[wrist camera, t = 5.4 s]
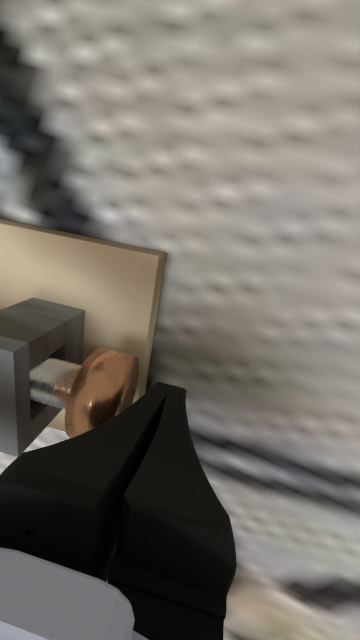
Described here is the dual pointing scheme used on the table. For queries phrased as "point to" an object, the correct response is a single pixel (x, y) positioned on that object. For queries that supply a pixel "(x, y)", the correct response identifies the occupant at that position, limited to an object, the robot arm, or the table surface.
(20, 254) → the bearing board
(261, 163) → the table surface
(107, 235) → the table surface
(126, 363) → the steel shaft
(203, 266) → the table surface
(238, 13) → the table surface
